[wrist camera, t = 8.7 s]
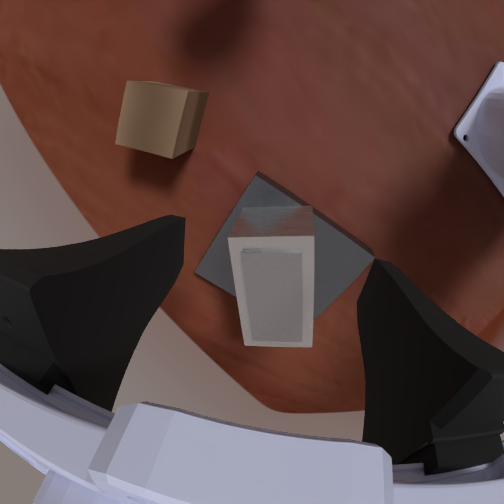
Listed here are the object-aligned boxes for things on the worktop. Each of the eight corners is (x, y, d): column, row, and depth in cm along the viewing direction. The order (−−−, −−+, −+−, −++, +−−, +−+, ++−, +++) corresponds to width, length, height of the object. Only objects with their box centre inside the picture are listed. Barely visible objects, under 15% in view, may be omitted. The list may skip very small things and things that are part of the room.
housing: (312, 304, 23) (312, 350, 18) (254, 304, 23) (243, 348, 19) (312, 205, 19) (314, 238, 15) (243, 207, 20) (226, 239, 16)
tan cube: (209, 92, 17) (188, 91, 14) (195, 147, 19) (171, 158, 16) (157, 81, 17) (127, 80, 14) (145, 134, 19) (115, 143, 16)
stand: (372, 249, 21) (375, 257, 20) (300, 323, 25) (300, 333, 24) (258, 170, 20) (255, 175, 18) (199, 264, 24) (194, 272, 23)
